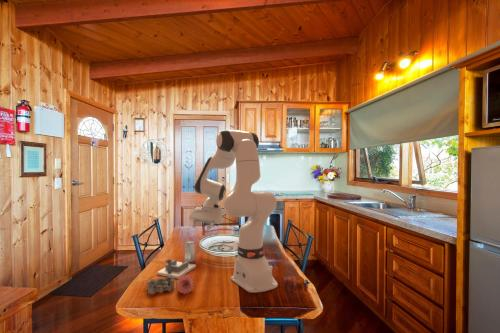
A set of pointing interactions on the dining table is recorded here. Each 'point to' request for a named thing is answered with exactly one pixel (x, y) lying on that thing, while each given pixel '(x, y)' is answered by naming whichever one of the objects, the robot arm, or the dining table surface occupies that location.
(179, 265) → the keeper board
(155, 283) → the egg carton
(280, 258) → the dining table surface
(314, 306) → the dining table surface
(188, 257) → the end link
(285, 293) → the dining table surface
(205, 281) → the dining table surface
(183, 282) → the flower
